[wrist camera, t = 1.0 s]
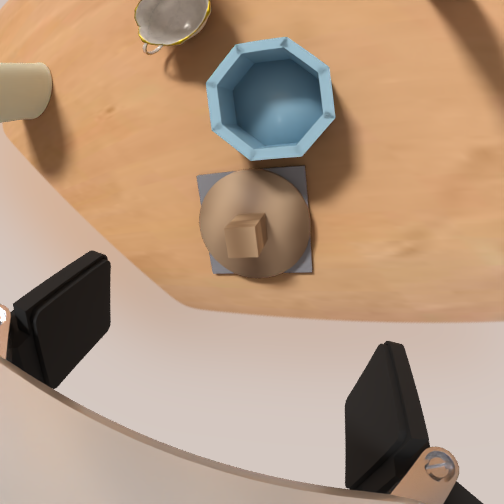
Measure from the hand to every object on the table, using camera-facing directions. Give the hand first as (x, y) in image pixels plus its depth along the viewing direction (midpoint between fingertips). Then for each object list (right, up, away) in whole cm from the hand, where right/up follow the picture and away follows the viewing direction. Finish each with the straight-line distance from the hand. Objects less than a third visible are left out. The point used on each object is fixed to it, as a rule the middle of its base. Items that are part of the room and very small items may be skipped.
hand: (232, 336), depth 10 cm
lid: (+1, +6, +26) cm, 27 cm away
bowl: (+3, +18, +21) cm, 28 cm away
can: (-33, +27, +26) cm, 50 cm away
